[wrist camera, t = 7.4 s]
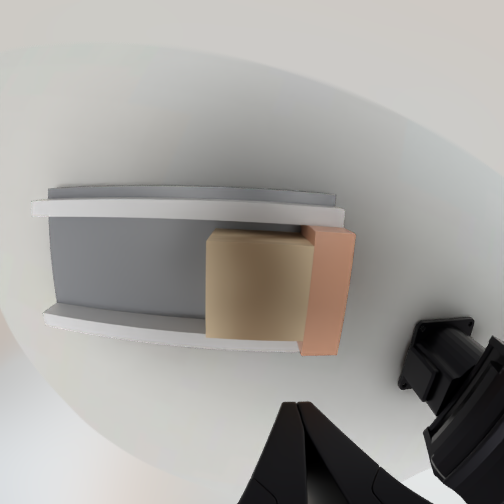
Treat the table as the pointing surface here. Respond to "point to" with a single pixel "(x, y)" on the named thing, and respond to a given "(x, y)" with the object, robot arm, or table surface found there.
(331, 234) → the channel
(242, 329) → the tan block
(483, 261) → the table surface
